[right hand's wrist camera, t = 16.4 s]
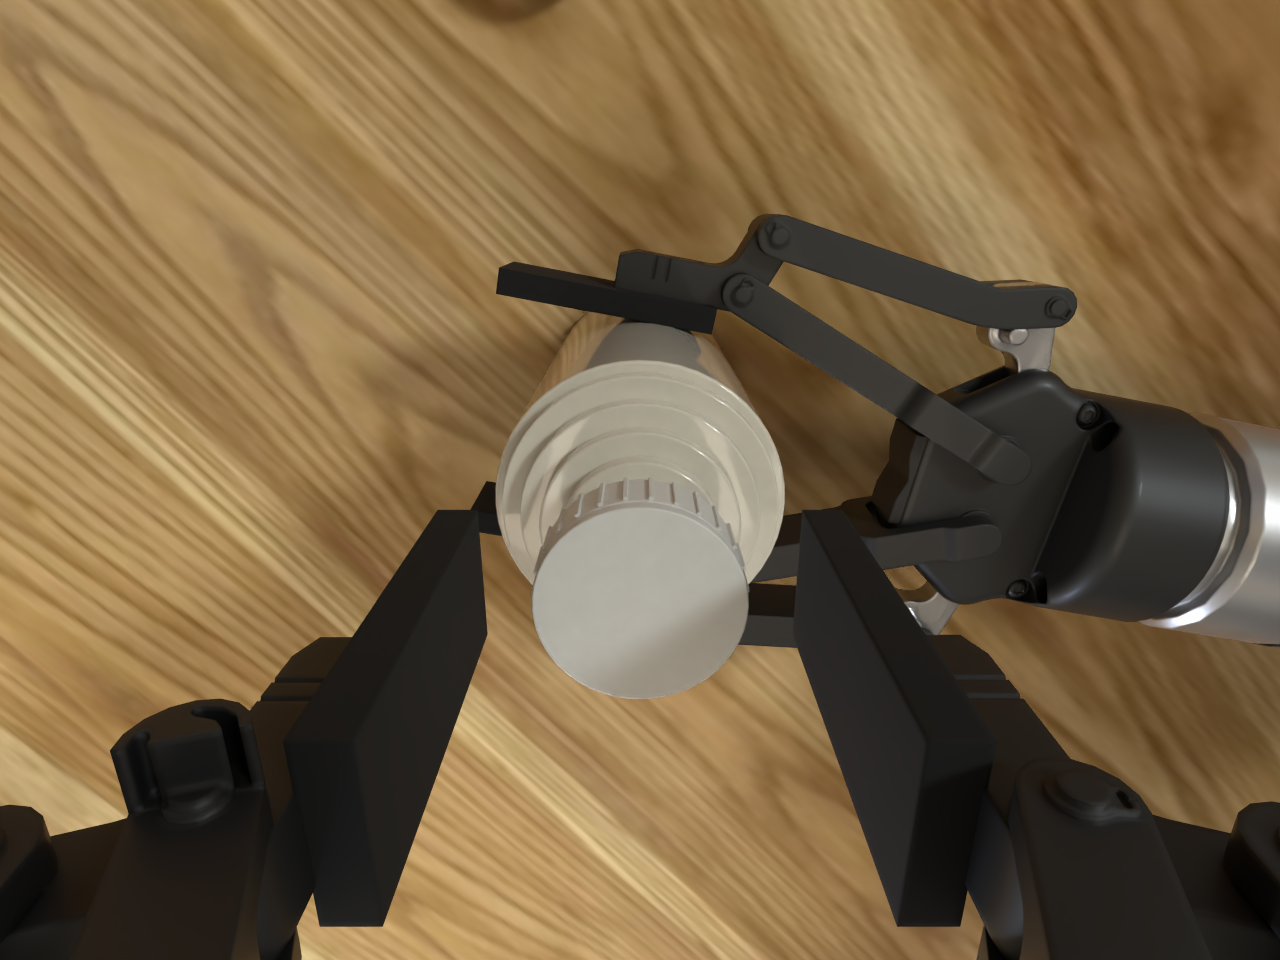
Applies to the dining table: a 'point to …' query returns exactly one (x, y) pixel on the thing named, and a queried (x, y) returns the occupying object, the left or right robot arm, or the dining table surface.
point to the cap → (640, 589)
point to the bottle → (639, 435)
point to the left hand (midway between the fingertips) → (491, 397)
